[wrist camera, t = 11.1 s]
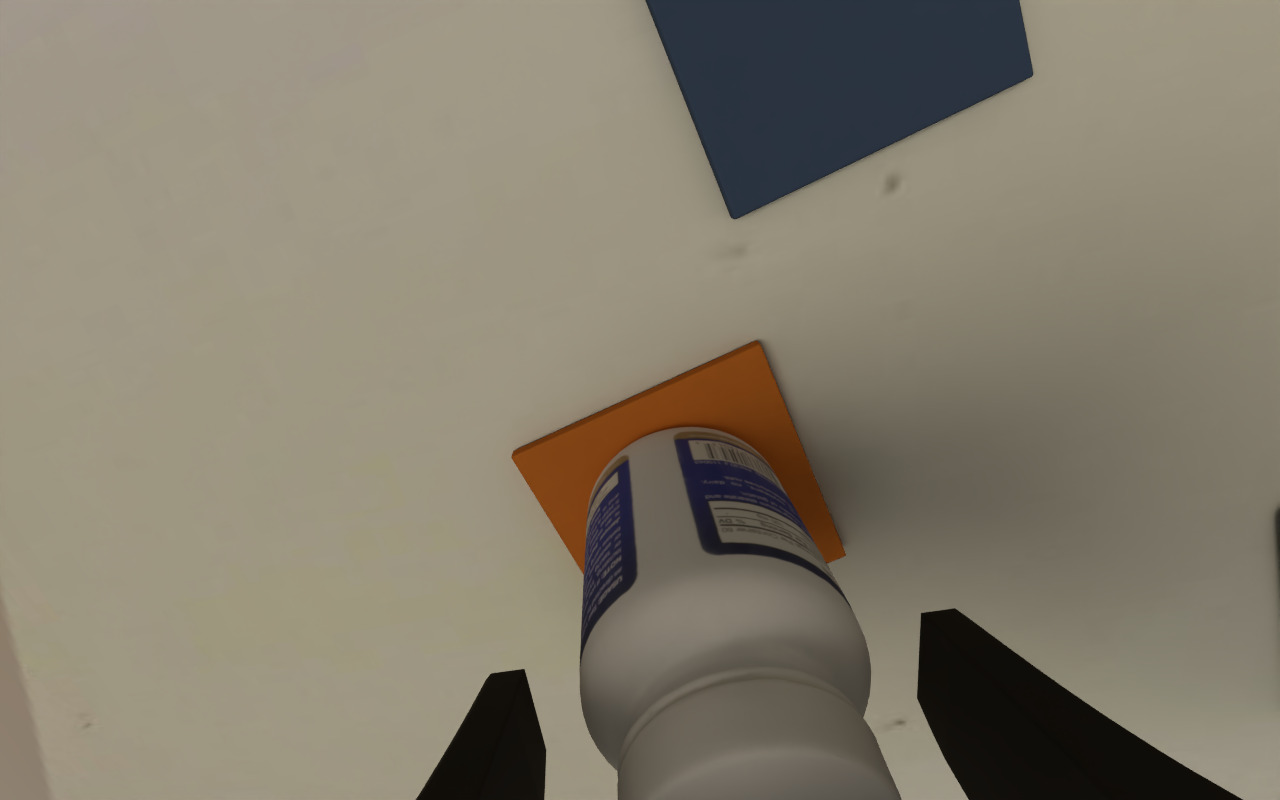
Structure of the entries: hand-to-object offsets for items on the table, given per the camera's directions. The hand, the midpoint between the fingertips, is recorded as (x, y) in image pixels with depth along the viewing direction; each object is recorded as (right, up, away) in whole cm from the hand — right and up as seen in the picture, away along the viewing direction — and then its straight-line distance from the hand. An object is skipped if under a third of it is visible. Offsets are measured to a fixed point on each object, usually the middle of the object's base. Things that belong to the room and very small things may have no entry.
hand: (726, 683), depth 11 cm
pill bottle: (0, +2, +6) cm, 6 cm away
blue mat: (+2, +14, +2) cm, 14 cm away
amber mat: (0, +2, +6) cm, 6 cm away
